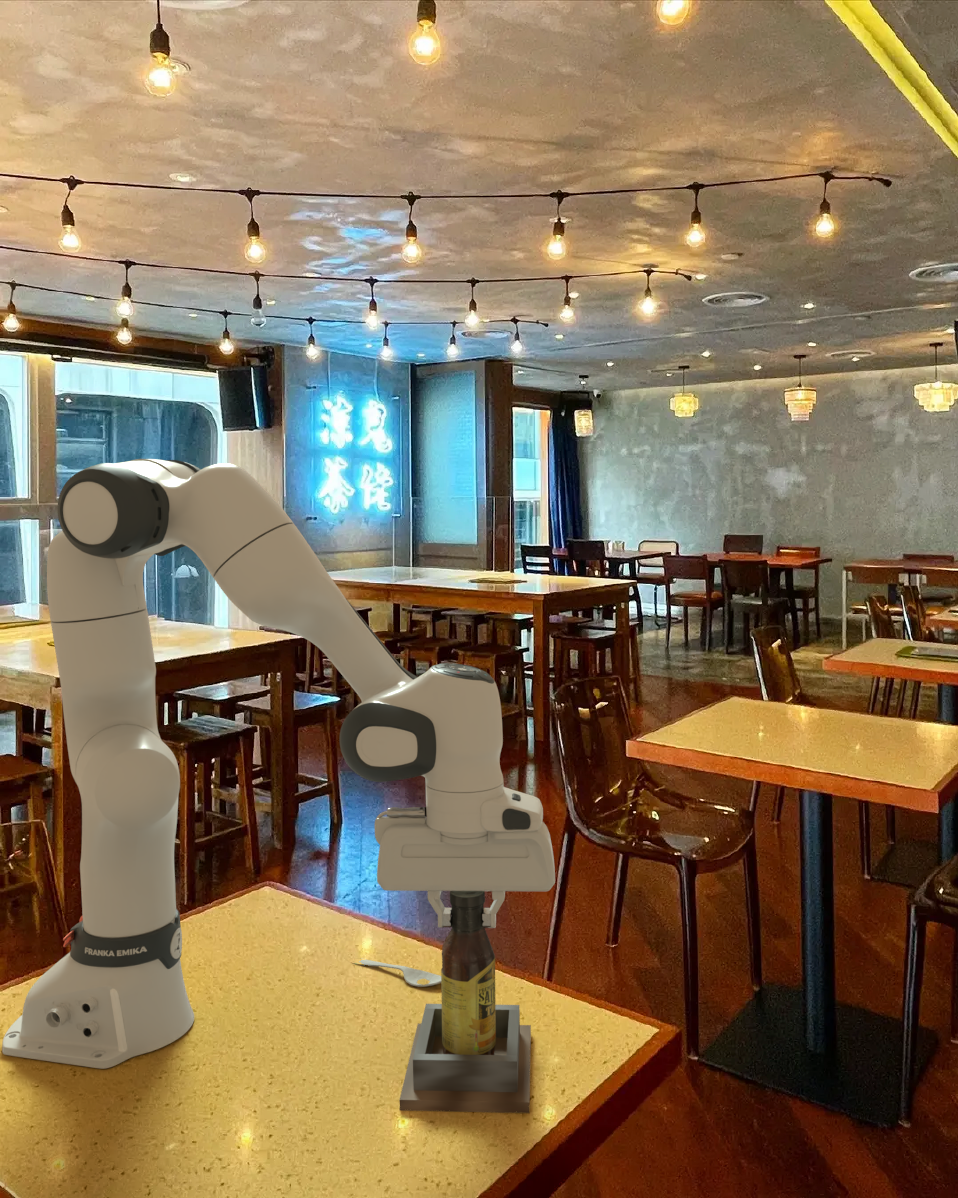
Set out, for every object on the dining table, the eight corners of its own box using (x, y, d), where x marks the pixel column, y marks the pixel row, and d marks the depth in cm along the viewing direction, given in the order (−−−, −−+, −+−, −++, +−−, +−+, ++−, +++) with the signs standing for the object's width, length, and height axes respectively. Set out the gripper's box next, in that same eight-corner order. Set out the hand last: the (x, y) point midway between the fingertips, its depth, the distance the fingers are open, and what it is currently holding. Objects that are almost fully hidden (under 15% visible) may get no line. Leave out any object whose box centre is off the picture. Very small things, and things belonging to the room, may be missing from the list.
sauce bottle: (490, 1075, 110) (488, 905, 107) (436, 1069, 111) (433, 901, 109) (500, 1043, 116) (499, 882, 114) (449, 1038, 117) (447, 878, 115)
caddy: (399, 1110, 105) (398, 1068, 105) (418, 1032, 121) (417, 996, 121) (529, 1113, 104) (528, 1071, 104) (530, 1034, 120) (530, 998, 120)
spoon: (434, 997, 131) (434, 985, 131) (320, 961, 143) (320, 950, 142) (452, 985, 134) (452, 973, 134) (340, 951, 146) (339, 940, 146)
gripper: (369, 815, 108) (372, 937, 109) (554, 815, 107) (556, 938, 108) (378, 799, 114) (381, 914, 115) (553, 799, 113) (555, 915, 114)
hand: (467, 926), depth 111 cm, fingers closed on sauce bottle, 4 cm apart
